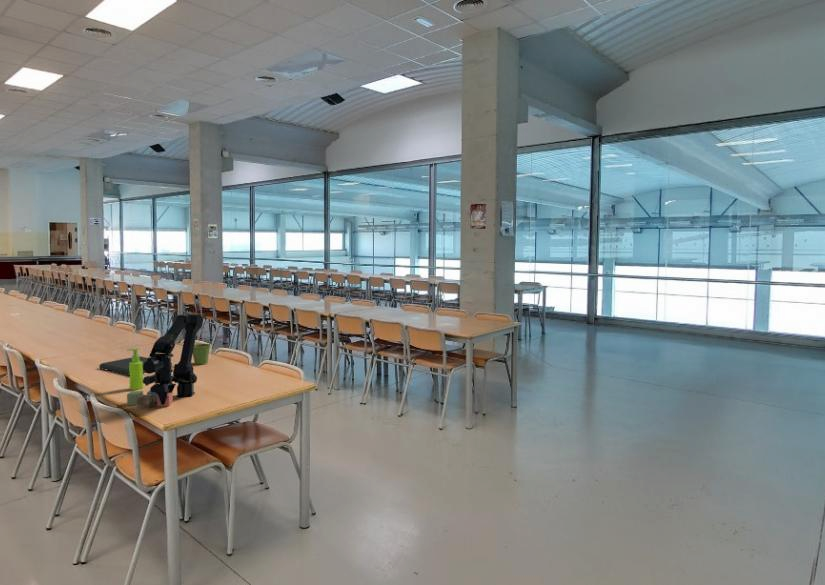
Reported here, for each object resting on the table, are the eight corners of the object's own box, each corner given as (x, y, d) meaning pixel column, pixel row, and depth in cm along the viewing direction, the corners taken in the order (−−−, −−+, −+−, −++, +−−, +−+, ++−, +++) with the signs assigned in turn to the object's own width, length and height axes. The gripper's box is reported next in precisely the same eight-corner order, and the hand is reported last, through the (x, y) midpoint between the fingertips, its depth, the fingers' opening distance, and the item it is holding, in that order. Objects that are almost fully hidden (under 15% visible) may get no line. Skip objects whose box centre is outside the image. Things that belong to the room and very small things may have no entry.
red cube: (172, 403, 244) (172, 392, 243) (169, 406, 239) (168, 395, 238) (161, 403, 243) (161, 392, 242) (157, 407, 238) (157, 395, 238)
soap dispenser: (132, 386, 270) (131, 347, 268) (145, 387, 270) (144, 347, 268) (125, 389, 264) (123, 349, 263) (138, 390, 264) (137, 350, 262)
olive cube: (143, 401, 245) (142, 391, 245) (139, 405, 240) (138, 394, 240) (131, 402, 245) (131, 391, 244) (127, 405, 240) (126, 394, 239)
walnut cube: (153, 405, 240) (152, 394, 240) (149, 408, 235) (148, 397, 235) (141, 405, 239) (141, 394, 239) (137, 409, 235) (136, 397, 234)
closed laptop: (172, 362, 310) (132, 371, 289) (173, 369, 310) (132, 378, 290) (139, 355, 327) (99, 363, 307) (140, 362, 328) (99, 370, 307)
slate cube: (162, 399, 249) (162, 389, 248) (158, 402, 244) (158, 392, 243) (151, 400, 248) (151, 389, 248) (147, 403, 243) (147, 392, 243)
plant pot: (215, 362, 328) (215, 343, 327) (204, 366, 317) (204, 347, 316) (197, 361, 330) (197, 342, 329) (186, 365, 319) (185, 346, 318)
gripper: (152, 364, 248) (153, 397, 249) (136, 373, 229) (138, 409, 230) (177, 363, 249) (178, 396, 250) (164, 373, 230) (165, 408, 232)
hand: (165, 402), depth 241 cm, fingers open, 5 cm apart
